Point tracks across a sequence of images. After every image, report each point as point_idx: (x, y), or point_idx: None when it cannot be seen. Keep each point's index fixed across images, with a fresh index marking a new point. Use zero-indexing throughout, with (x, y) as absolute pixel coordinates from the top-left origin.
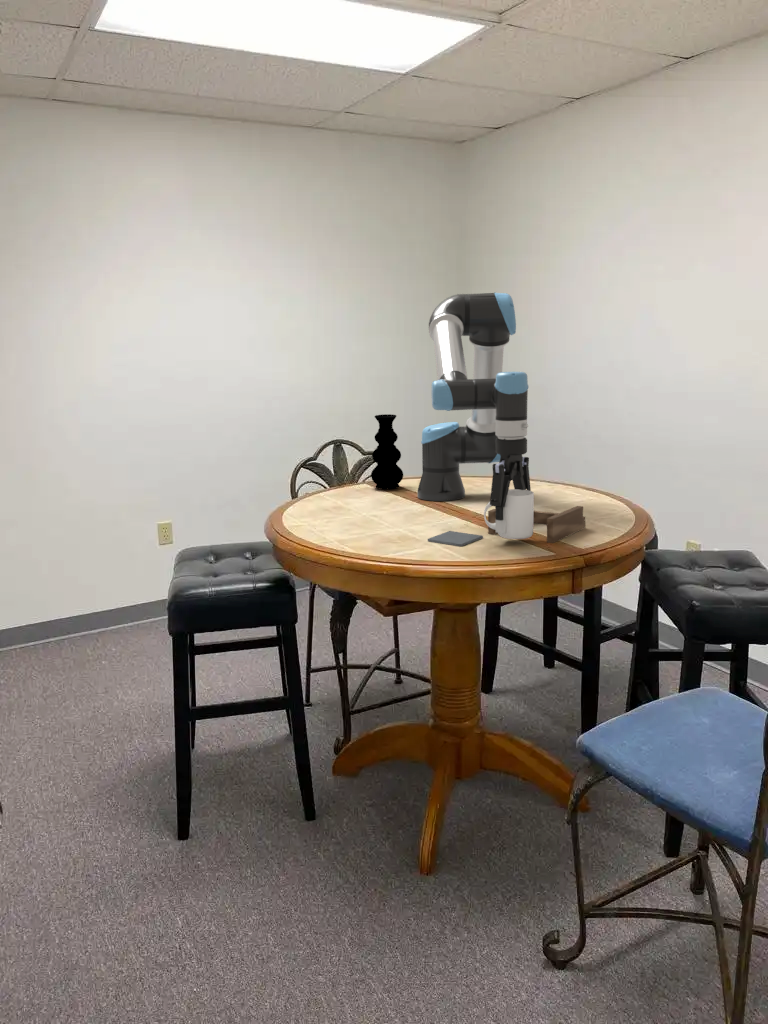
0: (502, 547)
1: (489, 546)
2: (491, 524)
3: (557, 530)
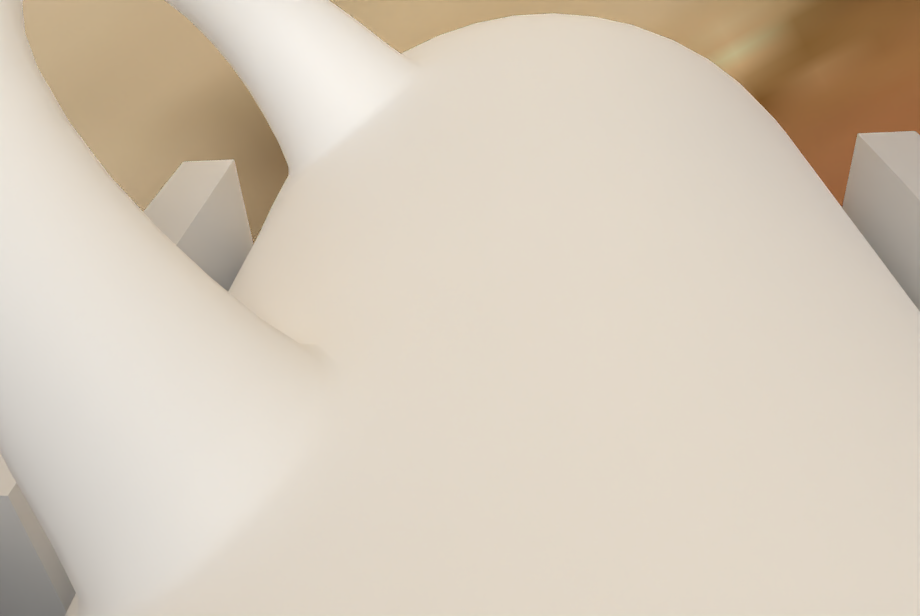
0: (245, 197)
1: (161, 34)
2: (221, 47)
3: None
